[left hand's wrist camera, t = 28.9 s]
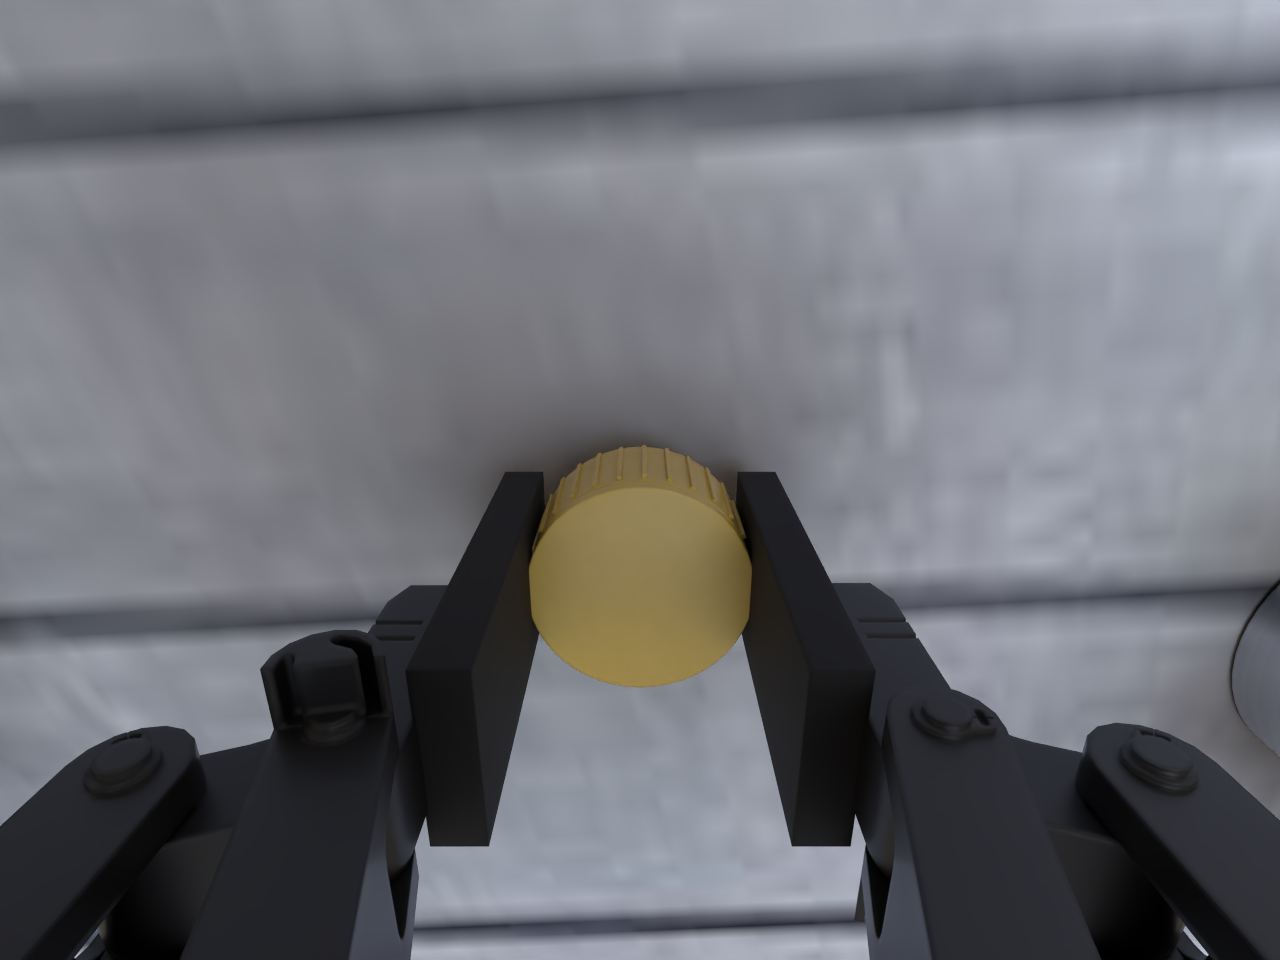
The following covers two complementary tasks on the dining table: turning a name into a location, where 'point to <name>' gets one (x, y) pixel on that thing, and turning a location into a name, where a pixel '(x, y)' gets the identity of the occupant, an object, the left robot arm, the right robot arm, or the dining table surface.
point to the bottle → (1260, 673)
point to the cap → (640, 568)
